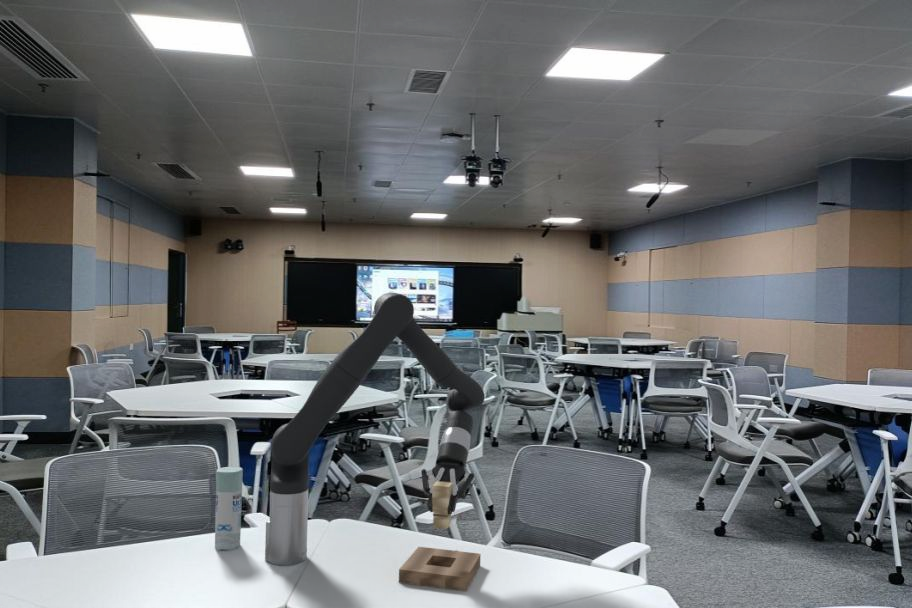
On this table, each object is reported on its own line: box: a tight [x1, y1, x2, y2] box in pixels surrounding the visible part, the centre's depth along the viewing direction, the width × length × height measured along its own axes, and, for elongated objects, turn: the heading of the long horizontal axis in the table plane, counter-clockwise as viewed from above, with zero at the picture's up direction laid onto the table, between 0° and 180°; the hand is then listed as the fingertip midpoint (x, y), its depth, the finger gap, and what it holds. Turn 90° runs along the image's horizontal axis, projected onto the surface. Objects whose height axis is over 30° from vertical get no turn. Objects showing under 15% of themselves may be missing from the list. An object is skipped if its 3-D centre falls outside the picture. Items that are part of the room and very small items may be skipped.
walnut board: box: [398, 546, 482, 592], centre depth 153 cm, size 16×15×3 cm
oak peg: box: [431, 481, 453, 530], centre depth 154 cm, size 4×4×10 cm
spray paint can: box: [214, 466, 244, 551], centre depth 168 cm, size 6×6×20 cm
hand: (440, 511), depth 152 cm, fingers closed on oak peg, 4 cm apart
